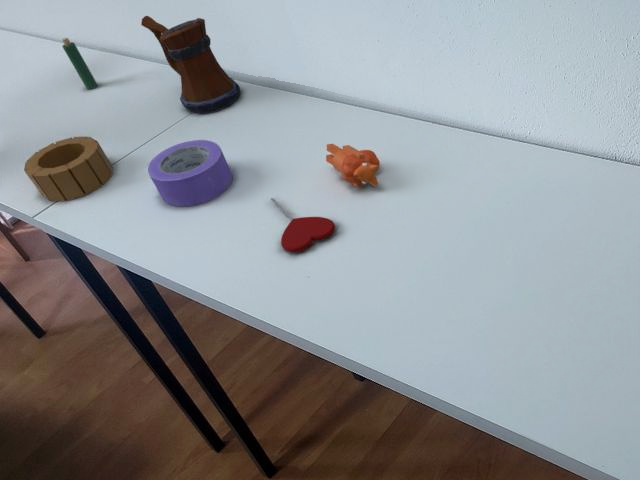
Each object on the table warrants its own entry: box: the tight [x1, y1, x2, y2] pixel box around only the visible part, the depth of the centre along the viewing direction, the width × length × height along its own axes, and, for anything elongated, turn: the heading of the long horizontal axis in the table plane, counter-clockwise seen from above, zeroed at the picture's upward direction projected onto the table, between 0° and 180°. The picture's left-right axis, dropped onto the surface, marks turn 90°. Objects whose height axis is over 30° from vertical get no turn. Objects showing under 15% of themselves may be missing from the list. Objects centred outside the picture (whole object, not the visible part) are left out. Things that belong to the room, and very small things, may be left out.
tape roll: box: [147, 139, 234, 208], centre depth 103 cm, size 12×12×5 cm
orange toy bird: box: [325, 143, 381, 188], centre depth 99 cm, size 5×8×12 cm
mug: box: [140, 15, 241, 115], centre depth 122 cm, size 18×12×15 cm, turn 53°
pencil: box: [61, 37, 99, 90], centre depth 135 cm, size 2×2×10 cm
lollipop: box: [270, 197, 336, 254], centre depth 94 cm, size 8×1×15 cm
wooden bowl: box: [23, 136, 114, 202], centre depth 109 cm, size 12×12×5 cm
